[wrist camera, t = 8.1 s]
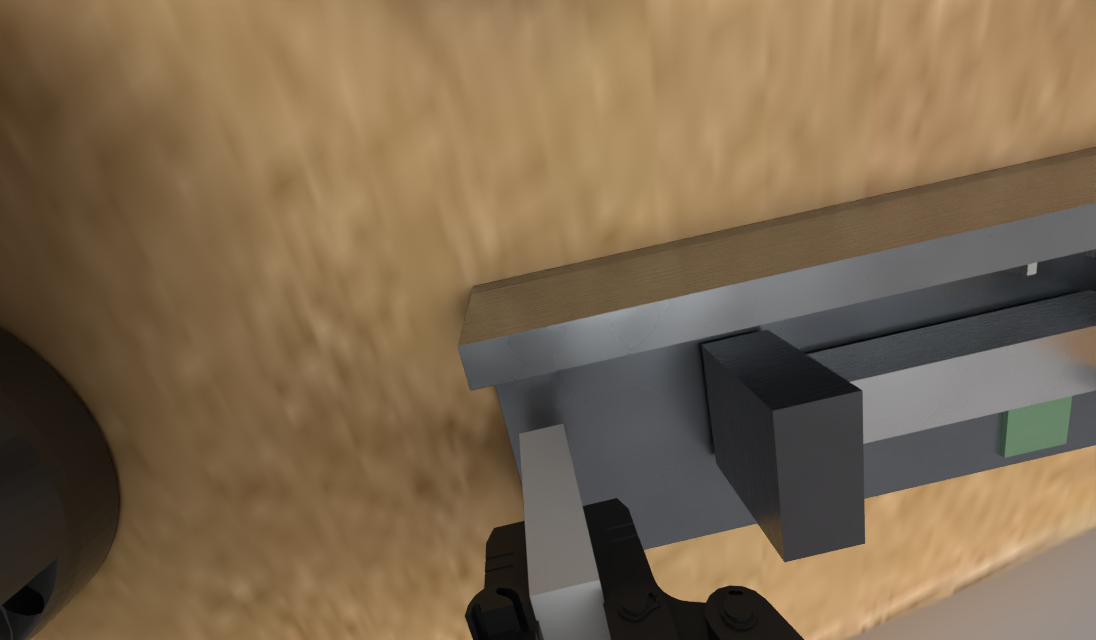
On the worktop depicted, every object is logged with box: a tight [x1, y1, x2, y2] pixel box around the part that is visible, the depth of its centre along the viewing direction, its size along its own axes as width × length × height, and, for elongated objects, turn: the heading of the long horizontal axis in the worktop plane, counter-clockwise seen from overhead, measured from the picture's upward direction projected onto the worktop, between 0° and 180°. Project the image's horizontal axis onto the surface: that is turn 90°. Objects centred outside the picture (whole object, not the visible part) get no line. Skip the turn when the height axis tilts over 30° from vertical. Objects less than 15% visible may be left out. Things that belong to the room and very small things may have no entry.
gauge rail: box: [458, 147, 1096, 550], centre depth 17 cm, size 25×12×7 cm, turn 102°
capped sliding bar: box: [702, 290, 1096, 562], centre depth 16 cm, size 14×5×6 cm, turn 102°
